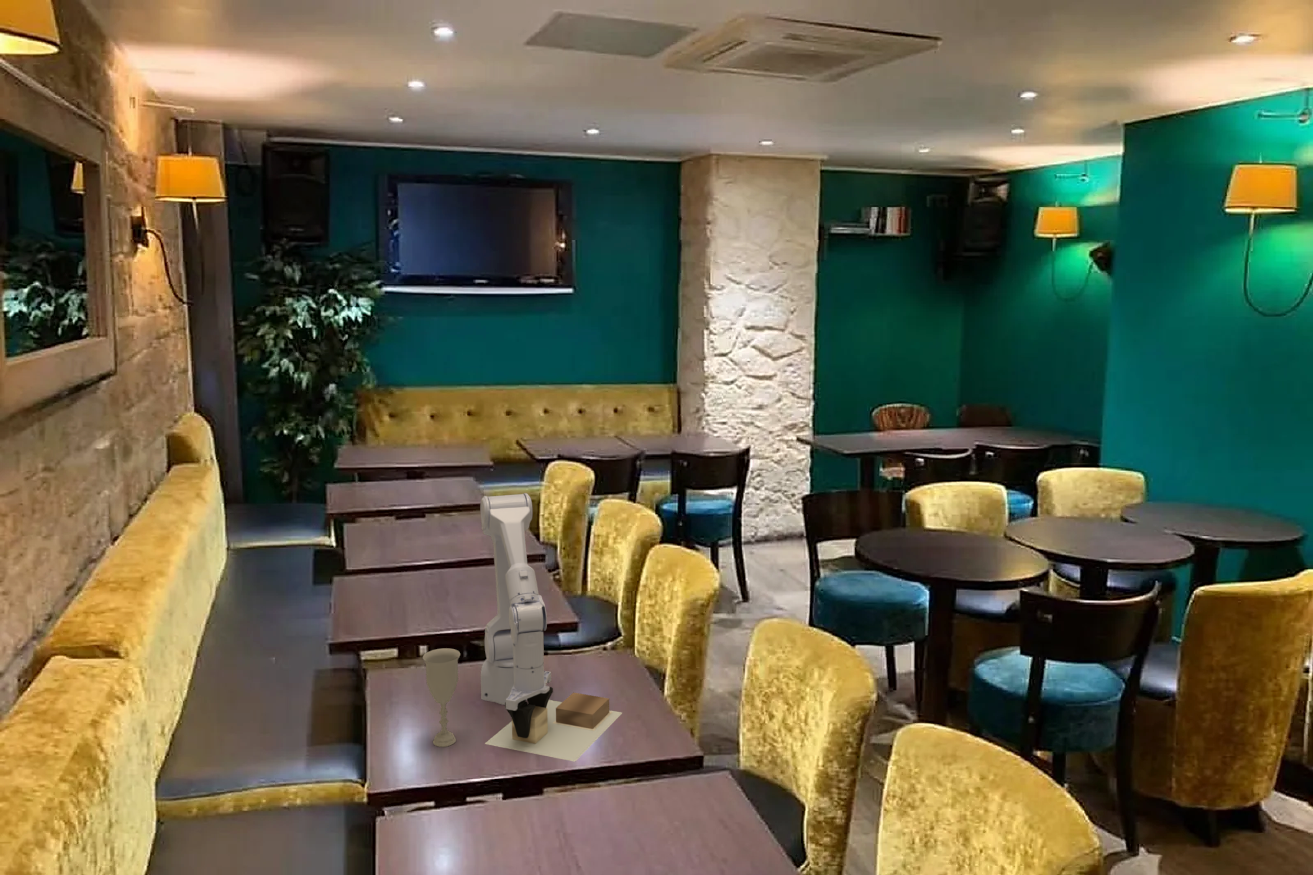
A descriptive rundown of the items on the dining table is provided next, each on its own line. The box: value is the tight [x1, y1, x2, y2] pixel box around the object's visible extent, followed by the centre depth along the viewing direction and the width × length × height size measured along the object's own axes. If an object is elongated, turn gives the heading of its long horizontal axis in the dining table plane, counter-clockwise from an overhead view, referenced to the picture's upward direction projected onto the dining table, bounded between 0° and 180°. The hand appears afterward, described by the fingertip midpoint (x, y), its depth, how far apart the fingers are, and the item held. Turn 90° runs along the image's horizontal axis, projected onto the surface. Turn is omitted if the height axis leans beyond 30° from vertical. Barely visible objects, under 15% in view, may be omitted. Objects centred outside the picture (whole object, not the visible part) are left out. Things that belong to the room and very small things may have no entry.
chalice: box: [422, 647, 461, 748], centre depth 189 cm, size 7×7×18 cm
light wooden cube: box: [511, 706, 548, 744], centre depth 192 cm, size 5×5×5 cm
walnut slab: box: [556, 691, 610, 729], centre depth 200 cm, size 8×8×3 cm
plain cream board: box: [484, 699, 623, 763], centre depth 196 cm, size 19×22×1 cm
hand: (529, 730), depth 193 cm, fingers closed on light wooden cube, 5 cm apart
